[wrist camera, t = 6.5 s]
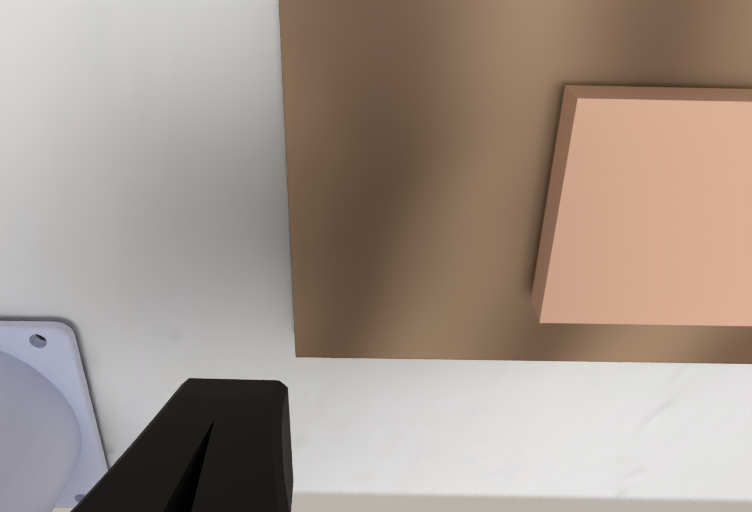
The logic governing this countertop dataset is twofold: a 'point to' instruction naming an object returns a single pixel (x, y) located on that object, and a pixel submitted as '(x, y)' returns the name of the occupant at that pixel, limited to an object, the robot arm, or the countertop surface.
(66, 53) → the countertop surface
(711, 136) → the tile
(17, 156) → the countertop surface
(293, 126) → the board
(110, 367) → the countertop surface
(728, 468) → the countertop surface
